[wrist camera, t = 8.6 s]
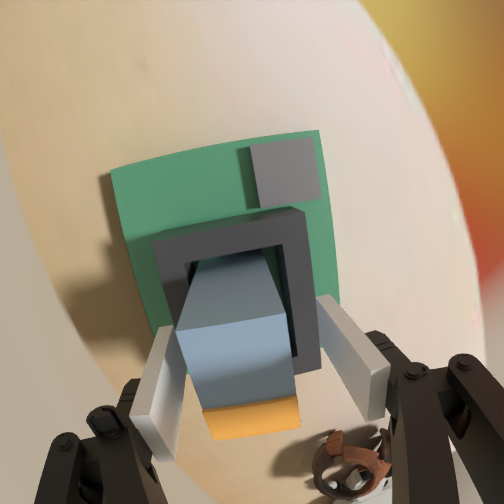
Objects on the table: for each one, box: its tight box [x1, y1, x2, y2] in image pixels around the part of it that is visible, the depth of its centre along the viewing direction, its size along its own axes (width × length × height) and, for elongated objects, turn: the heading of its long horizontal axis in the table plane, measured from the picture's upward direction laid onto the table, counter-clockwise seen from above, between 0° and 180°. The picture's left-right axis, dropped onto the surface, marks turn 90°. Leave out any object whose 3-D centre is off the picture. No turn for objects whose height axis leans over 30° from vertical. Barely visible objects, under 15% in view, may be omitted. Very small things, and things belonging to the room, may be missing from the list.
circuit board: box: [110, 130, 340, 375], centre depth 19 cm, size 16×14×5 cm
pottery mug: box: [312, 428, 392, 500], centre depth 26 cm, size 12×9×8 cm
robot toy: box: [327, 465, 392, 504], centre depth 30 cm, size 12×4×15 cm
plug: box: [175, 248, 301, 440], centre depth 16 cm, size 6×4×10 cm, turn 10°
